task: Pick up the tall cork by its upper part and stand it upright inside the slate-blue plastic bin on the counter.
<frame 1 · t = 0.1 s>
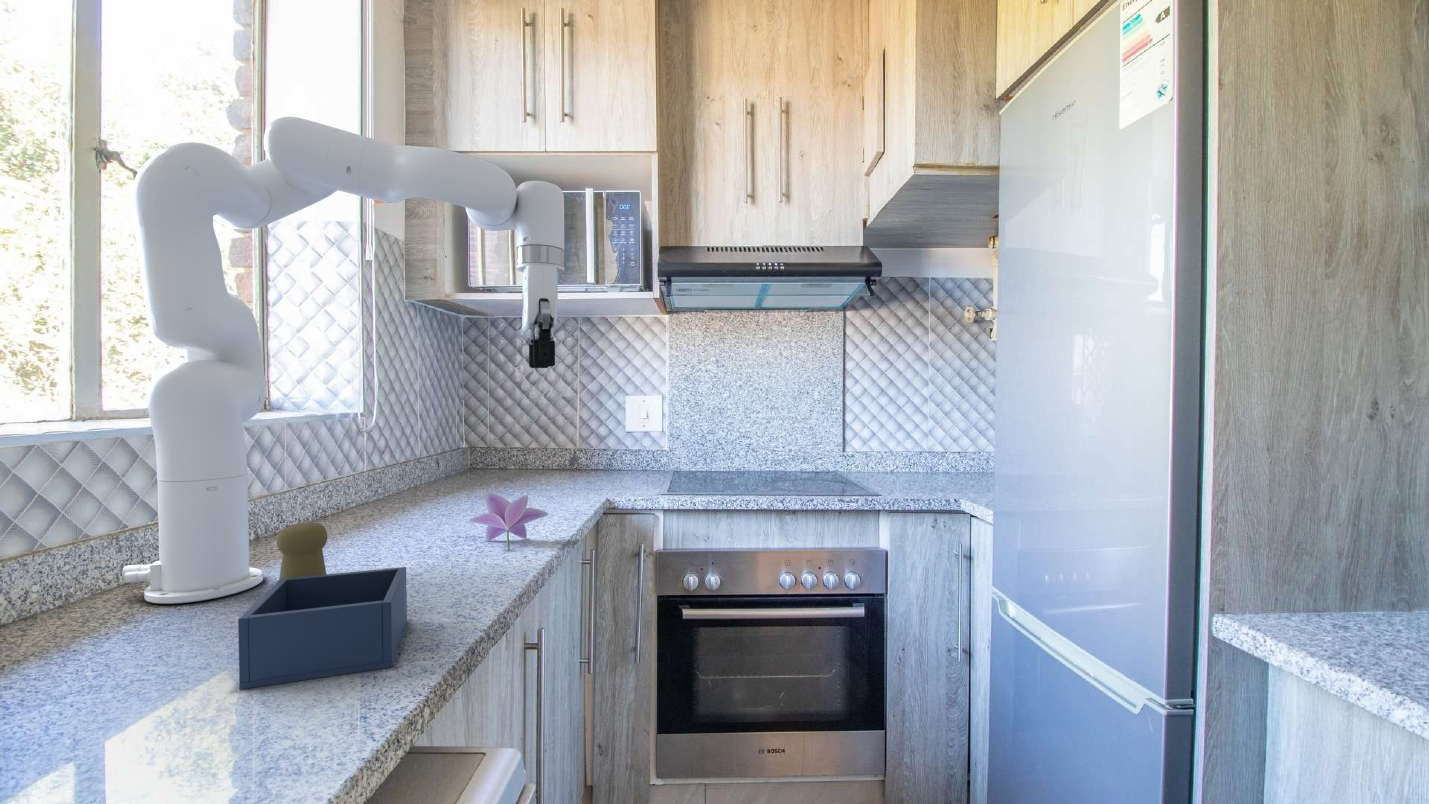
hand: (541, 367, 99), 31 cm above the countertop, tool pointing down, fingers open, 9 cm apart
cork: (303, 614, 75), on the countertop
bin: (333, 651, 64), on the countertop
lily: (508, 545, 107), on the countertop
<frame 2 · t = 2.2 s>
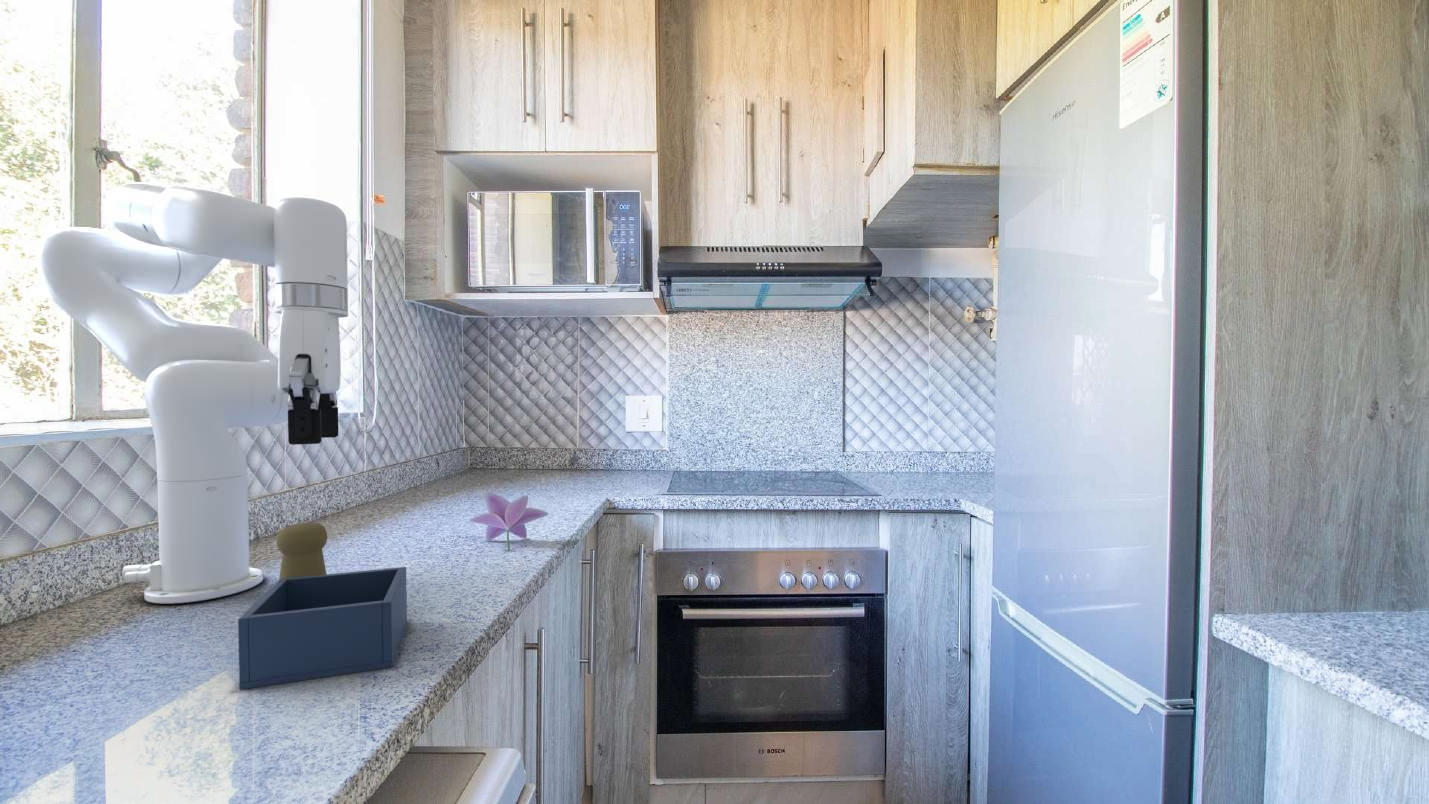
hand: (315, 440, 76), 21 cm above the countertop, tool pointing down, fingers open, 9 cm apart
nothing on the countertop moved.
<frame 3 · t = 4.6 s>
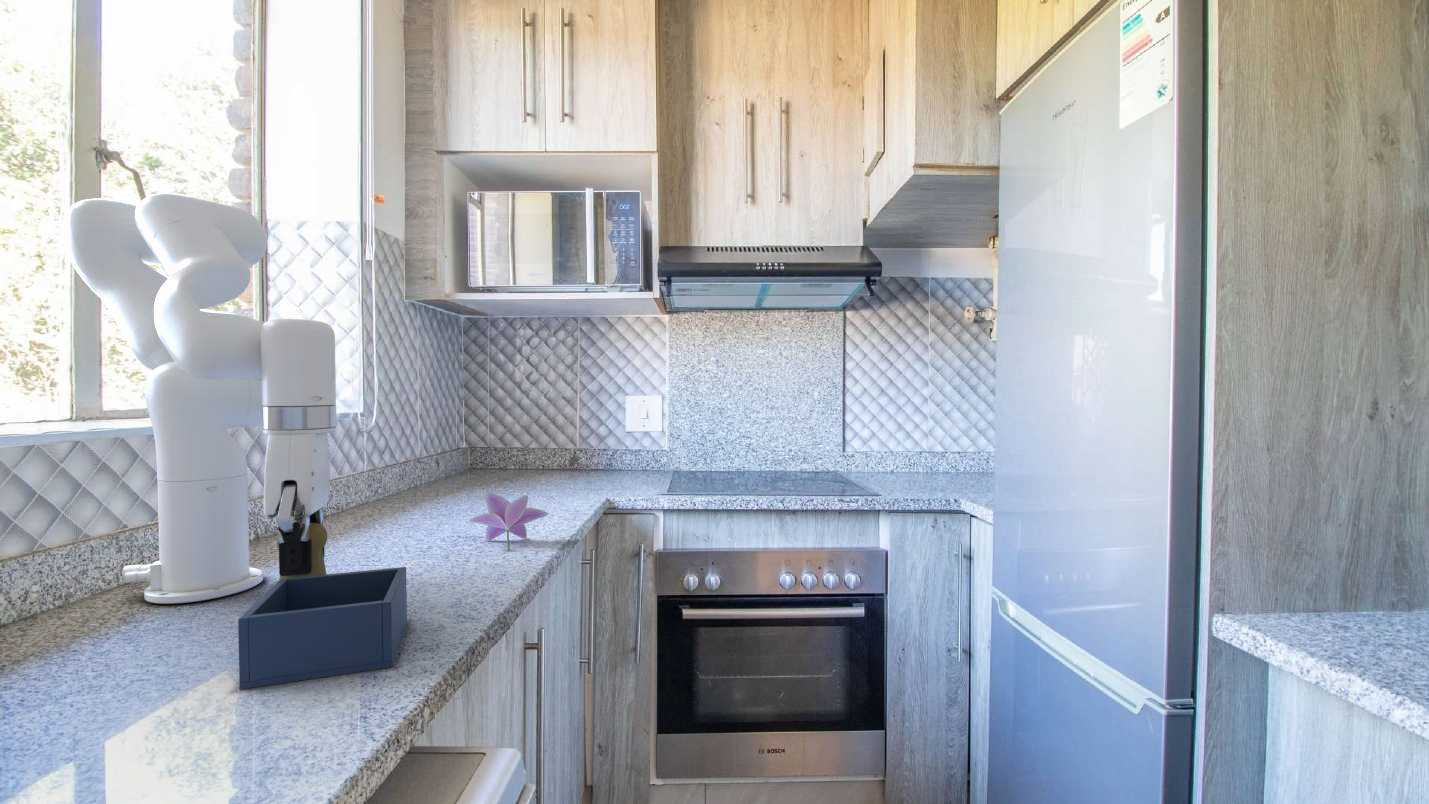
hand: (303, 565, 75), 6 cm above the countertop, tool pointing down, fingers closed on cork, 5 cm apart
cork: (303, 614, 75), on the countertop, touching gripper
everything else where it was.
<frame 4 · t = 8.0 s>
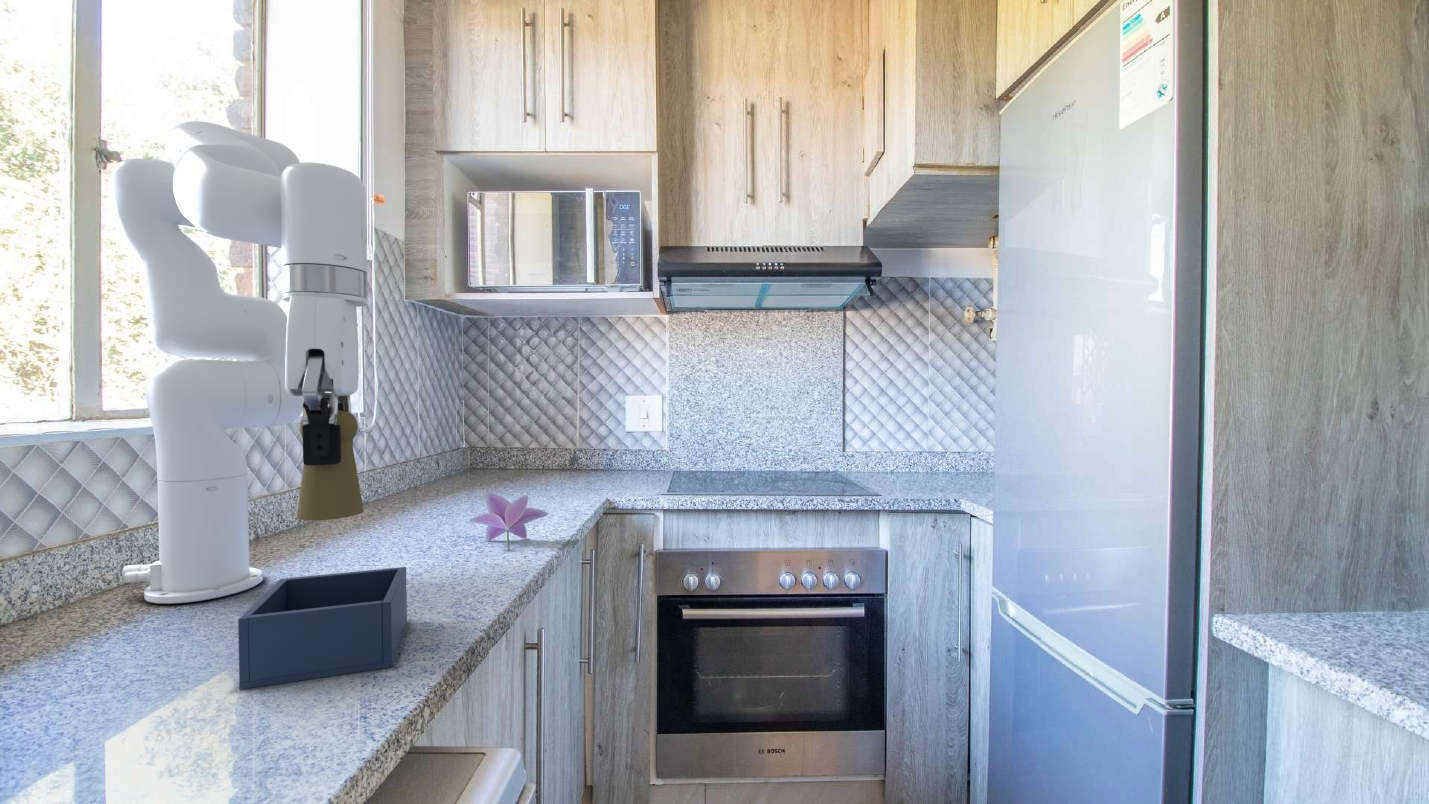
hand: (329, 459, 64), 20 cm above the countertop, tool pointing down, fingers closed on cork, 5 cm apart
cork: (330, 516, 64), point 14 cm above the countertop, touching gripper
everything else where it was.
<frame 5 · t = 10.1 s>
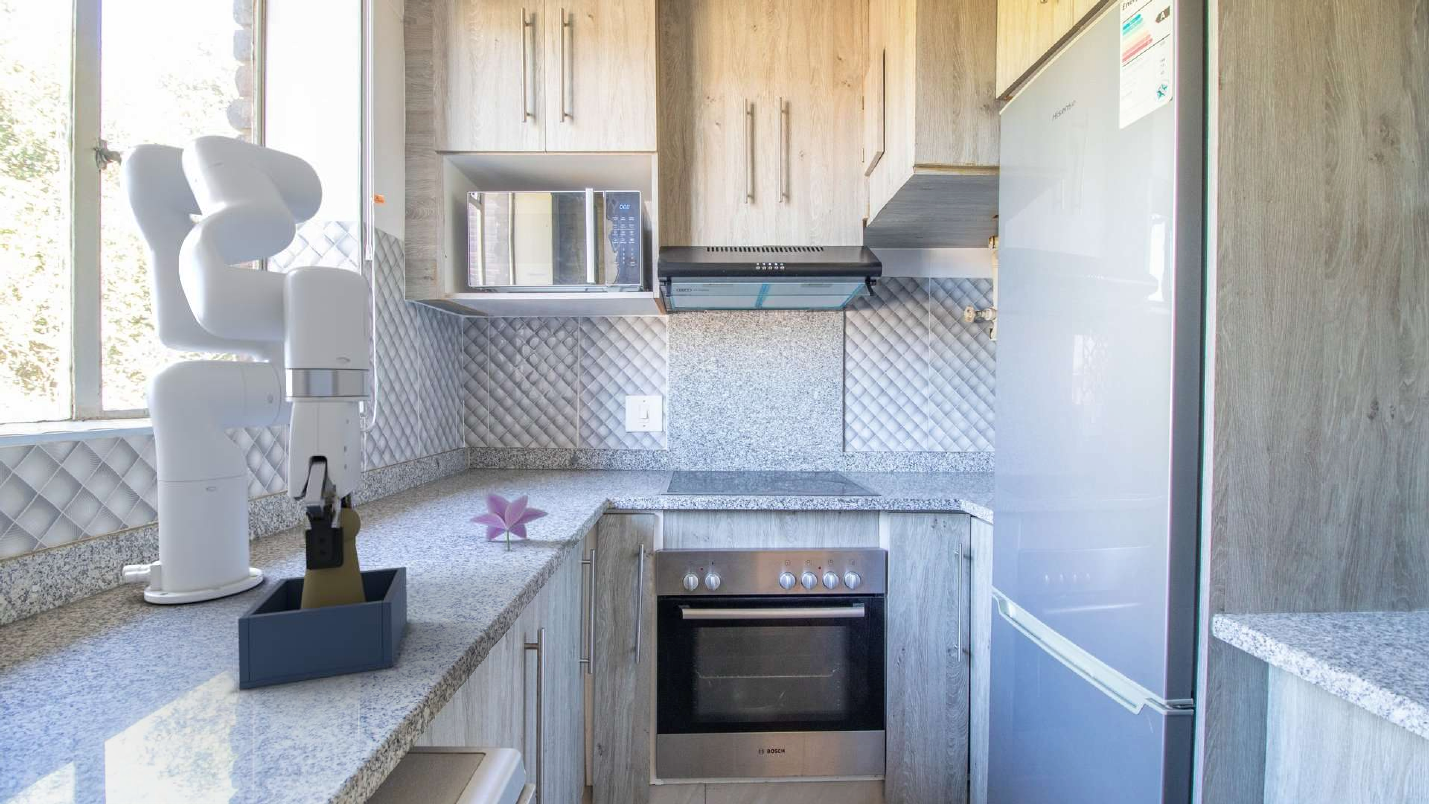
hand: (332, 558, 64), 10 cm above the countertop, tool pointing down, fingers closed on cork, 5 cm apart
cork: (333, 614, 64), point 4 cm above the countertop, touching gripper
everything else where it was.
when the fingers open (6 cm above the countertop, at t = 11.5 s): cork stays where it is, resting on bin.
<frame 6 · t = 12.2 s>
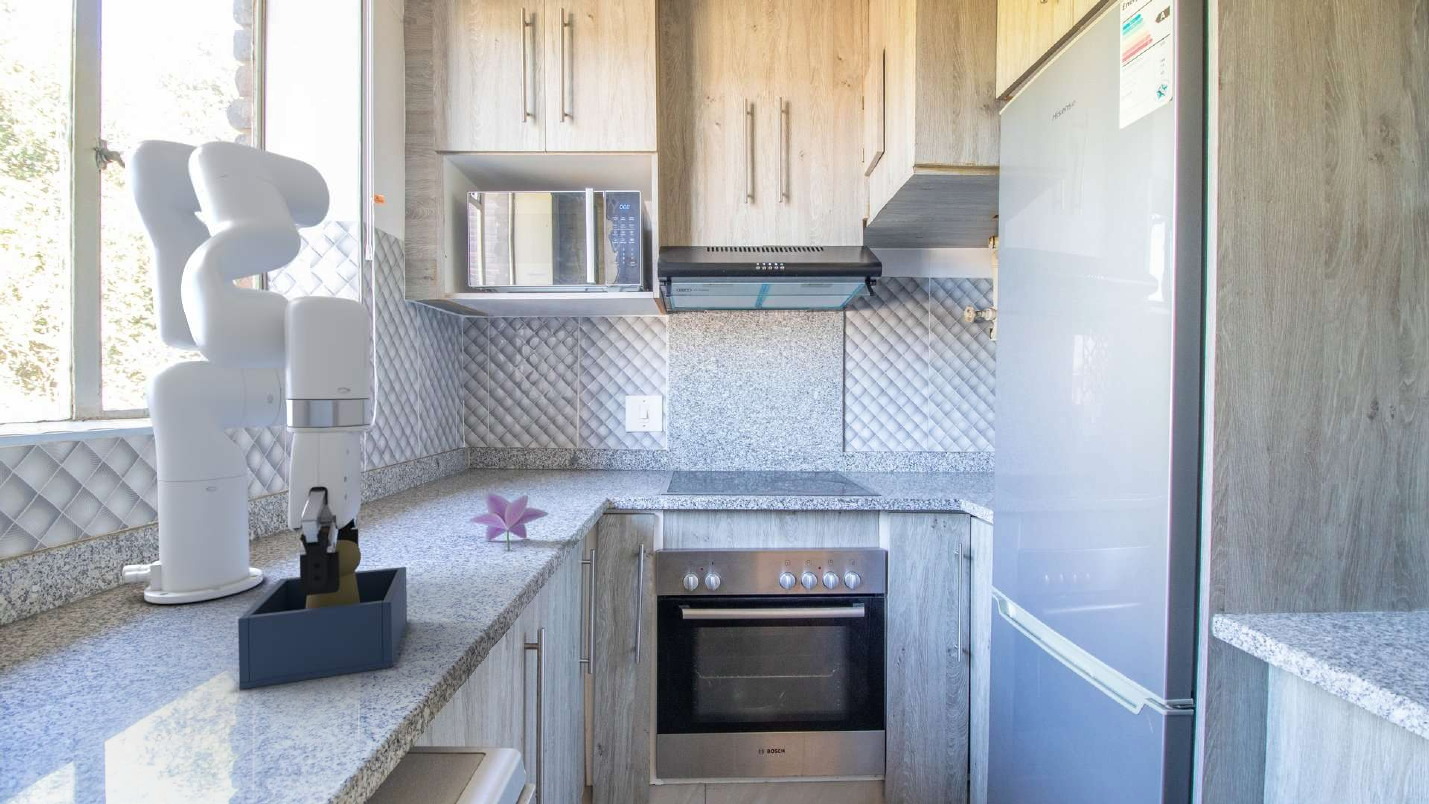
hand: (332, 578, 64), 8 cm above the countertop, tool pointing down, fingers open, 9 cm apart
cork: (333, 647, 64), resting on bin
everything else where it was.
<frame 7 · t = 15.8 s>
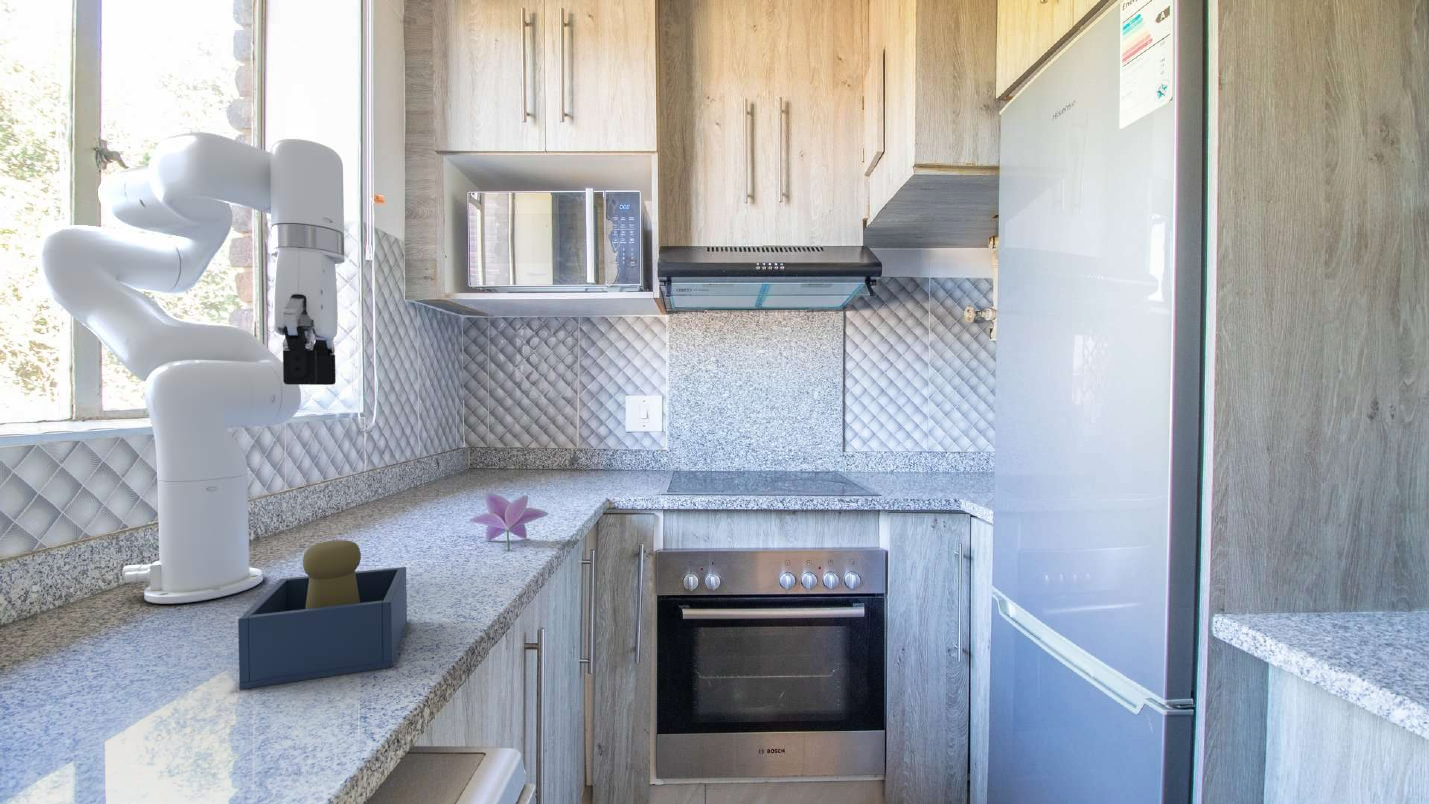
hand: (311, 384, 76), 28 cm above the countertop, tool pointing down, fingers open, 9 cm apart
nothing on the countertop moved.
at the end: cork inside the target area in the bin (0.0 cm from its centre), point 0.4 cm above the bin's base; cork tilted 0°; the gripper is holding nothing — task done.
